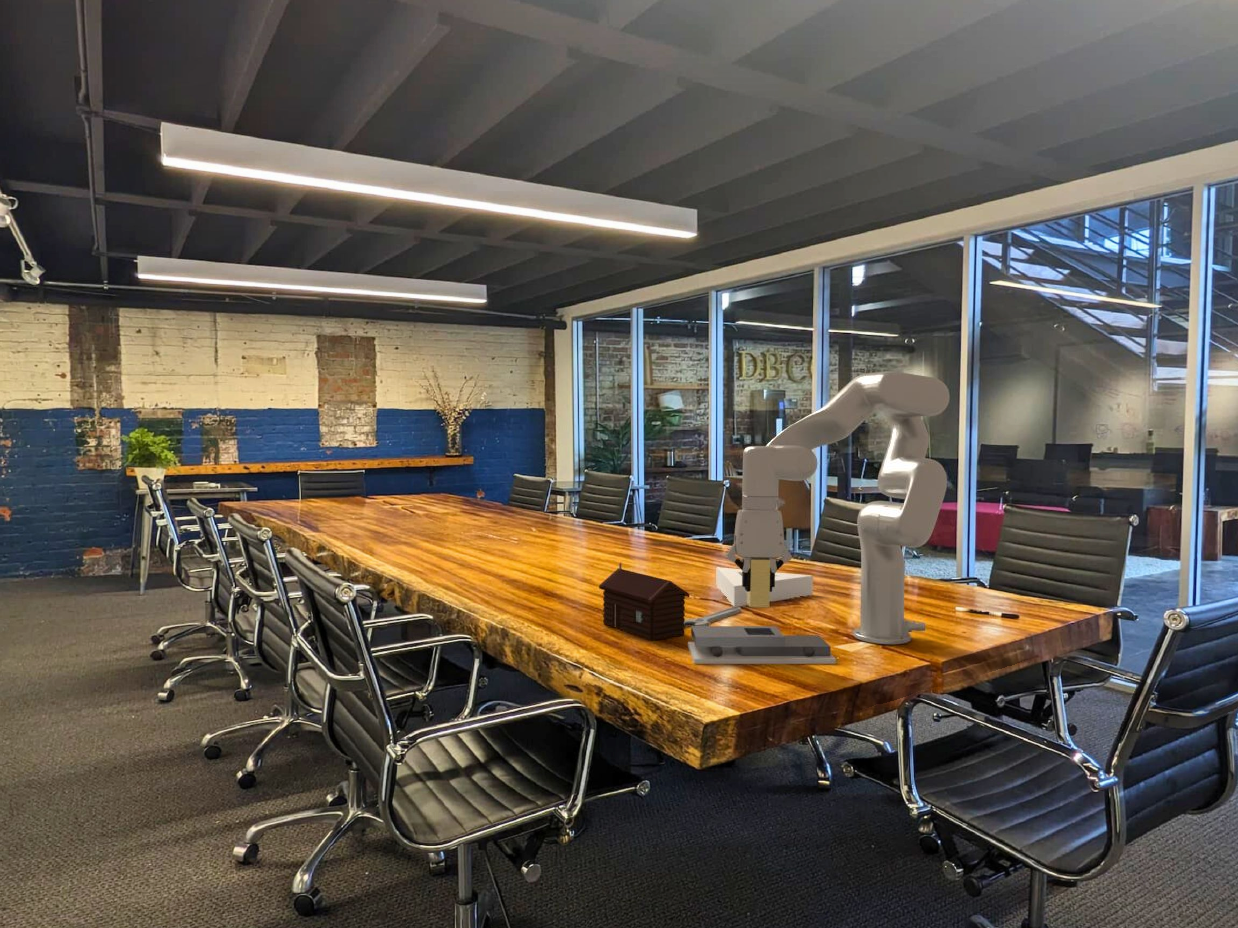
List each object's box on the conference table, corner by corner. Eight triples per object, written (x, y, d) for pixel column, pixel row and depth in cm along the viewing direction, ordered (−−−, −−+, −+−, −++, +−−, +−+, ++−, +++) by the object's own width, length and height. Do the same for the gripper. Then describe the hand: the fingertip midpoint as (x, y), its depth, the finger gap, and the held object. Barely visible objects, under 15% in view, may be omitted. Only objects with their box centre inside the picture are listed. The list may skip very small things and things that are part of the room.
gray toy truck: (818, 643, 168) (818, 625, 168) (831, 656, 158) (831, 637, 158) (690, 643, 168) (690, 625, 168) (695, 656, 158) (695, 637, 158)
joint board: (818, 646, 170) (818, 641, 170) (835, 663, 157) (835, 658, 157) (687, 646, 169) (687, 641, 169) (694, 663, 156) (694, 658, 156)
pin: (765, 603, 164) (766, 556, 164) (769, 607, 160) (770, 559, 160) (746, 602, 164) (747, 556, 164) (750, 607, 160) (751, 559, 160)
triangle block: (734, 609, 208) (734, 586, 208) (677, 592, 230) (677, 571, 230) (812, 597, 224) (812, 575, 224) (752, 582, 246) (752, 562, 246)
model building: (599, 624, 189) (599, 564, 189) (636, 617, 196) (636, 559, 196) (650, 642, 173) (650, 576, 172) (689, 635, 179) (689, 571, 179)
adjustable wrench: (733, 611, 205) (734, 605, 205) (754, 615, 201) (754, 609, 201) (674, 628, 187) (675, 620, 187) (695, 632, 182) (696, 625, 182)
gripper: (795, 503, 166) (793, 587, 166) (718, 502, 165) (716, 586, 166) (803, 506, 158) (801, 594, 159) (723, 505, 158) (721, 593, 158)
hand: (758, 589), depth 162 cm, fingers closed on pin, 4 cm apart
